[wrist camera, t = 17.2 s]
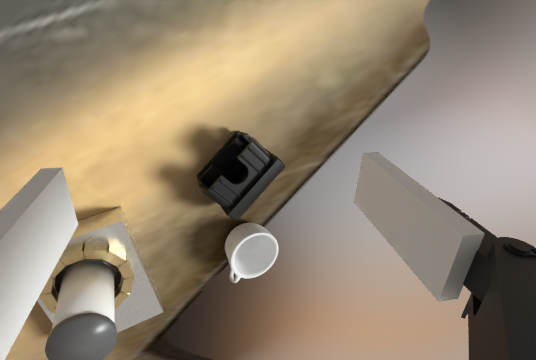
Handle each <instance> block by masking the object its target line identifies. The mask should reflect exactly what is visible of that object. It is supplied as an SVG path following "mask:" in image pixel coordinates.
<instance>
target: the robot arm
mask: <svg viewBox="0 0 536 360" xmlns="http://www.w3.org/2000/svg"><path fill="white" fill-rule="evenodd" d="M354 203H355V204H356V205H357V206H358V207H359V208H360V210H361V211H362V212H363V213H364V214H365V216H366V217H367V218H368V219H369V220H370V221H371V223H372V224H373V225H374V226H375V227H376V229H377V230H378V231H379V232H380V233H381V234H382V235H383V237H384V238H385V239H386V240H387V242H388V243H389V244H390V245H391V246H392V247H393V248H394V250H395V251H396V252H397V253H398V254H399V256H400V257H401V258H402V259H403V260H404V261H405V263H406V264H407V265H408V266H409V267H410V268H411V270H412V271H413V272H414V273H415V274H416V276H417V277H418V278H419V279H420V280H421V281H422V283H423V284H424V285H425V286H426V287H427V289H428V290H429V291H430V292H431V293H432V295H433V296H434V297H435V298H436V299H437V300H438V301H445V300H451V299H458V297H459V294H460V292H461V290H462V287H463V285H464V286H466V288H467V289H468V290H469V291H470V292H471V295H470V298H469V300H468V302H467V304H466V307H465V309H464V311H463V313H462V316H461V317H462V318H465V317H466V315H467V314H468V327H469V360H536V248H535V247H534V246H532V245H530V244H527V243H526V242H524V241H520V240H518V239H514V238H509V237H499V238H497V237H496V236H495V235H493V234H492V233H491V232H489V231H488V230H486V229H485V228H483V227H482V226H481V225H480V224H478V223H477V222H476V221H474V220H473V219H472V218H471V219H470V218H469V216H468V215H466V214H465V213H462V212H461V210H459V209H458V208H457V207H455V206H454V205H453V204H451V203H449V202H447V201H445V200H443V199H440V198H437V197H436V196H435V195H433V194H432V193H431V192H429V191H428V190H427V189H425V188H424V187H423V186H421V185H420V184H419V183H418V182H416V181H415V180H414V179H412V178H411V177H410V176H408V175H407V174H405V173H404V172H403V171H402V170H400V169H399V168H398V167H396V166H395V165H394V164H392V163H391V162H390V161H388V160H387V159H386V158H384V157H383V156H382V155H380V154H379V153H378V152H373V153H363V155H362V162H361V167H360V172H359V178H358V183H357V189H356V195H355V201H354ZM77 226H78V221H77V218H76V214H75V211H74V207H73V203H72V200H71V196H70V193H69V189H68V186H67V182H66V179H65V175H64V172H63V168H47V169H40V170H39V172H38V173H37V174H36V175H35V176H34V177H33V178H32V179H31V180H30V181H29V182H28V183H27V184H26V185H25V186H24V187H23V188H22V189H21V190H20V191H19V192H18V193H17V194H16V195H15V196H14V197H13V198H12V199H11V200H10V201H9V202H8V203H7V204H6V205H5V206H4V207H3V208H2V209H1V210H0V360H4V359H5V357H6V356H7V354H8V352H9V350H10V348H11V347H12V345H13V343H14V341H15V339H16V337H17V336H18V334H19V332H20V330H21V328H22V326H23V325H24V323H25V321H26V319H27V317H28V315H29V314H30V312H31V310H32V308H33V306H34V305H35V303H36V301H37V299H38V297H39V295H40V294H41V292H42V290H43V288H44V286H45V284H46V283H47V281H48V279H49V277H50V275H51V274H52V272H53V270H54V268H55V266H56V264H57V263H58V261H59V259H60V257H61V255H62V253H63V252H64V250H65V248H66V246H67V244H68V243H69V241H70V239H71V237H72V235H73V233H74V232H75V230H76V228H77Z"/></svg>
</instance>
